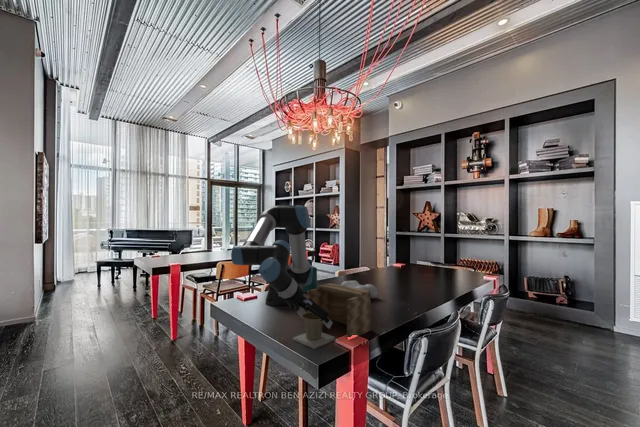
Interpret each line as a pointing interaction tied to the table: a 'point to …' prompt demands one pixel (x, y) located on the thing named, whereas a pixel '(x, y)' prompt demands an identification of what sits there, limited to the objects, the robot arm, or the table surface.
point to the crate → (344, 306)
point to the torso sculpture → (362, 287)
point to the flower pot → (312, 326)
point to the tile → (316, 342)
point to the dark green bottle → (314, 280)
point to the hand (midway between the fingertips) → (318, 321)
